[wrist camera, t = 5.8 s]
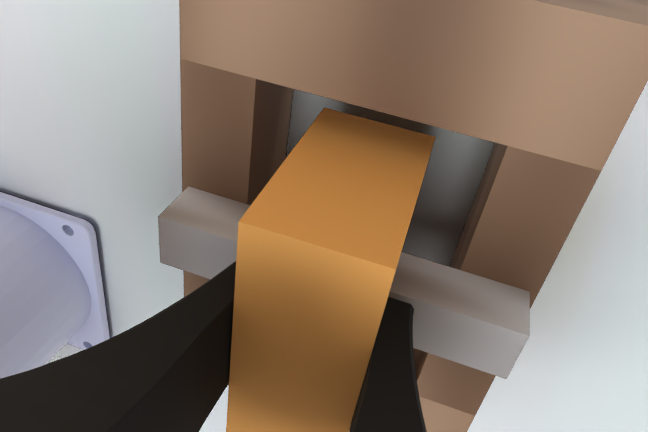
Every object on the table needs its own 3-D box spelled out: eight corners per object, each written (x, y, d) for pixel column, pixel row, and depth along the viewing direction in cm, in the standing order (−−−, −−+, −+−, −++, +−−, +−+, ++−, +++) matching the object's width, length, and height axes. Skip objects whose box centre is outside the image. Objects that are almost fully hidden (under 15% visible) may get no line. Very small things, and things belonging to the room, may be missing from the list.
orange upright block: (295, 295, 19) (226, 434, 14) (324, 107, 15) (238, 221, 10) (380, 323, 18) (335, 474, 14) (435, 136, 14) (396, 269, 10)
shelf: (221, 314, 23) (162, 403, 19) (238, -92, 14) (135, -69, 10) (458, 397, 21) (442, 511, 18) (646, -5, 12) (693, 58, 9)
